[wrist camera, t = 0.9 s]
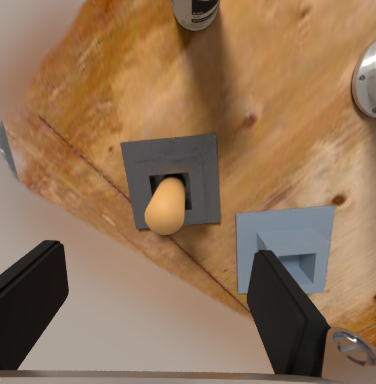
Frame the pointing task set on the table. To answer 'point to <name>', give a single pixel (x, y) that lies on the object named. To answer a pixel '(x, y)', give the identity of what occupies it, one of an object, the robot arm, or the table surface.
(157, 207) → the lock pin
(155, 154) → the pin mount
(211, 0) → the spray can
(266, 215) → the socket block
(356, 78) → the robot arm
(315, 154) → the table surface
